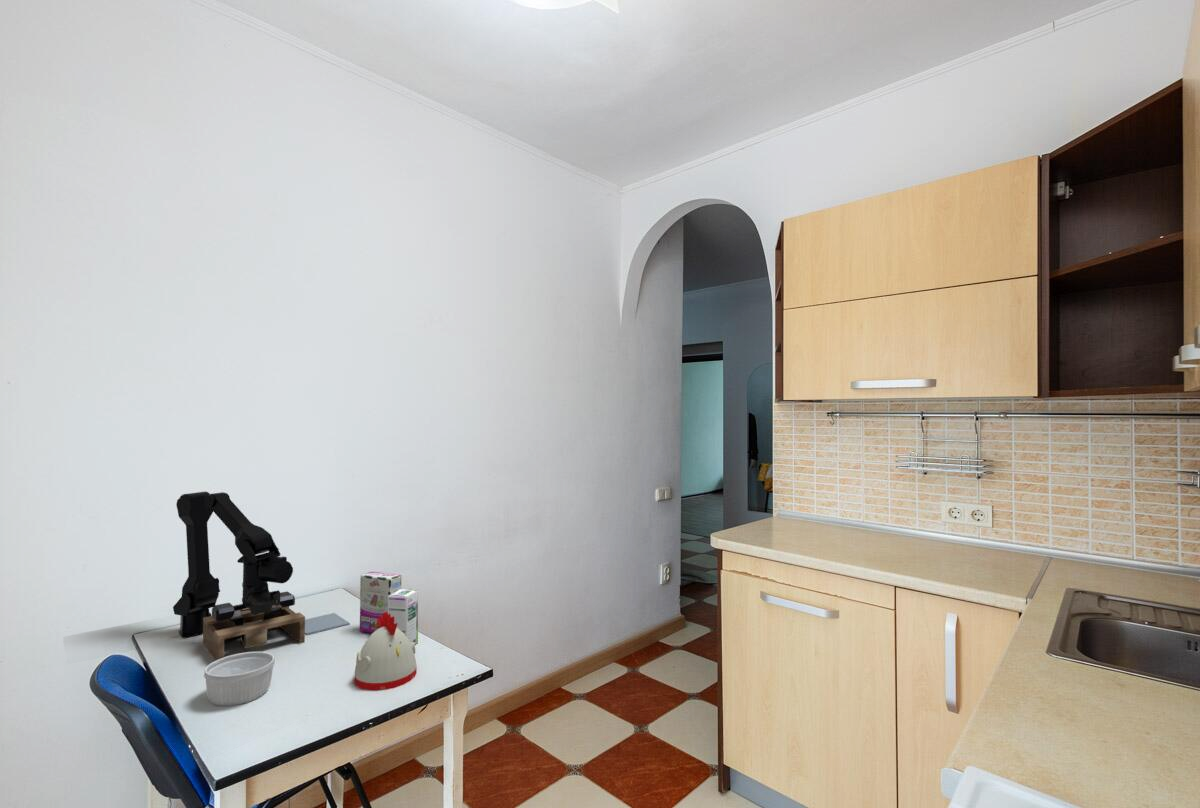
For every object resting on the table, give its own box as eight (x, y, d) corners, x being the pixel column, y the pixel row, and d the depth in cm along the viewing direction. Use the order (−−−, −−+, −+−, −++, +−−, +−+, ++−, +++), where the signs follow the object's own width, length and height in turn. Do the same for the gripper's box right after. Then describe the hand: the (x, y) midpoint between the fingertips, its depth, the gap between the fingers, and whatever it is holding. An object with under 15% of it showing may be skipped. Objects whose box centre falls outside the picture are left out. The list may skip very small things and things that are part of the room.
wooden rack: (218, 664, 141) (218, 636, 141) (202, 643, 154) (203, 617, 154) (304, 642, 155) (305, 616, 155) (283, 624, 168) (284, 601, 168)
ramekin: (258, 675, 135) (258, 646, 136) (285, 691, 128) (285, 660, 128) (193, 697, 125) (194, 665, 125) (219, 716, 117) (219, 682, 117)
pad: (306, 635, 160) (306, 633, 160) (292, 624, 169) (292, 622, 169) (349, 624, 169) (349, 622, 169) (334, 614, 177) (334, 612, 177)
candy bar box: (401, 632, 163) (402, 574, 164) (389, 638, 159) (390, 579, 159) (371, 626, 167) (372, 570, 168) (358, 632, 163) (359, 574, 163)
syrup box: (407, 651, 150) (407, 596, 150) (386, 649, 151) (387, 594, 151) (418, 643, 155) (418, 589, 156) (398, 641, 156) (399, 588, 157)
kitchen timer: (370, 696, 126) (372, 628, 126) (344, 677, 135) (345, 613, 135) (427, 676, 136) (428, 612, 136) (398, 659, 145) (399, 600, 146)
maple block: (245, 648, 151) (246, 629, 151) (240, 642, 154) (241, 624, 155) (266, 643, 154) (267, 624, 155) (261, 637, 158) (262, 619, 158)
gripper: (221, 593, 143) (220, 656, 142) (302, 578, 156) (300, 636, 155) (212, 584, 150) (210, 643, 150) (289, 570, 164) (287, 625, 163)
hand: (253, 637), depth 155 cm, fingers closed on maple block, 5 cm apart
